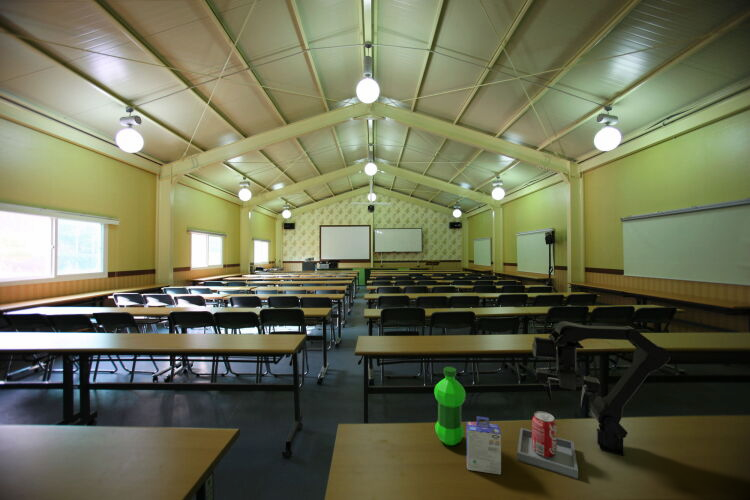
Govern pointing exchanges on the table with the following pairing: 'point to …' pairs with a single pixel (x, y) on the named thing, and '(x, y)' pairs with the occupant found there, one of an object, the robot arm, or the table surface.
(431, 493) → the table surface
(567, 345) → the robot arm
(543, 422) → the soda can
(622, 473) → the table surface
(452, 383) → the plastic bottle
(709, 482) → the table surface
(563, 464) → the tray
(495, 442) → the ink cartridge box
